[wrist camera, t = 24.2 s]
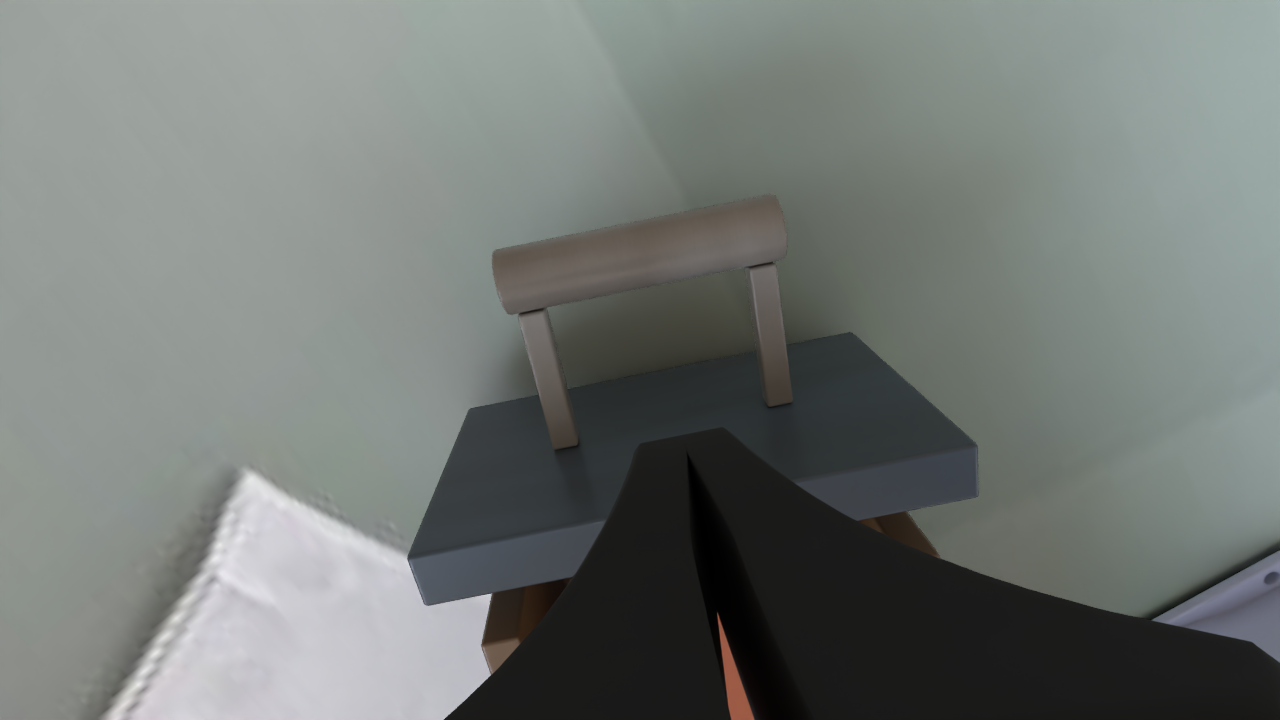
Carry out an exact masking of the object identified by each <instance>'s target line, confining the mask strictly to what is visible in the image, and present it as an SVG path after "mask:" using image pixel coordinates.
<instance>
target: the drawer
mask: <svg viewBox="0 0 1280 720" xmlns="http://www.w3.org/2000/svg"><path fill="white" fill-rule="evenodd" d="M786 253H787V231H786V224H785V219H784V215H783V211H782V208H781V205H780V203H779V201H778V199H777V197H776V196H775V195H774V194H768V195H763V196H758V197H753V198H748V199H743V200H738V201H733V202H728V203H723V204H718V205H713V206H709V207H704V208H699V209H694V210H689V211H684V212H679V213H674V214H669V215H664V216H659V217H654V218H650V219H645V220H640V221H635V222H630V223H625V224H620V225H615V226H610V227H605V228H600V229H595V230H591V231H586V232H581V233H576V234H571V235H566V236H561V237H556V238H551V239H546V240H541V241H536V242H532V243H527V244H522V245H517V246H512V247H507V248H502V249H497V250H495V251H494V252H493V255H492V268H493V275H494V280H495V285H496V289H497V292H498V296H499V299H500V302H501V304H502V306H503V308H504V310H505V311H506V313H507V314H510V315H513V314H518V313H520V314H519V317H518V319H519V323H520V327H521V331H522V334H523V338H524V342H525V346H526V349H527V353H528V357H529V361H530V364H531V368H532V372H533V376H534V379H535V383H536V387H537V390H538V394H539V395H535V396H530V397H525V398H520V399H515V400H510V401H505V402H500V403H495V404H490V405H485V406H480V407H475V408H471V409H469V410H468V413H467V415H466V418H465V420H464V422H463V425H462V427H461V430H460V432H459V434H458V437H457V439H456V442H455V444H454V446H453V449H452V451H451V454H450V456H449V458H448V461H447V463H446V465H445V468H444V470H443V473H442V475H441V477H440V480H439V482H438V485H437V487H436V489H435V492H434V494H433V497H432V499H431V501H430V504H429V506H428V509H427V511H426V513H425V516H424V518H423V521H422V523H421V525H420V528H419V530H418V532H417V535H416V537H415V540H414V542H413V544H412V547H411V549H410V552H409V554H408V558H407V559H408V562H409V565H410V568H411V570H412V573H413V575H414V578H415V581H416V583H417V586H418V589H419V591H420V594H421V597H422V599H423V602H424V604H425V605H427V606H429V605H434V604H440V603H445V602H450V601H455V600H460V599H465V598H470V597H475V596H480V595H485V594H490V593H492V597H491V601H490V606H489V611H488V616H487V620H486V625H485V630H484V634H483V639H482V644H481V647H482V650H483V653H484V656H485V658H486V661H487V664H488V667H489V670H490V673H491V675H492V674H493V673H494V672H495V671H496V670H497V669H498V668H499V667H500V666H501V665H502V663H503V662H504V661H505V660H506V659H507V658H508V657H509V656H510V655H511V653H512V652H513V651H514V650H515V649H516V648H517V647H518V646H519V645H520V643H521V642H522V641H523V640H524V639H525V638H526V637H527V636H528V635H529V633H530V632H531V631H532V630H533V629H534V628H535V627H536V626H537V625H538V623H539V622H540V621H541V620H542V619H543V617H544V616H545V615H546V614H547V612H548V611H549V610H550V608H551V607H552V606H553V604H554V603H555V602H556V600H557V599H558V597H559V596H560V595H561V593H562V592H563V591H564V589H565V588H566V586H567V585H568V583H569V582H570V581H571V579H572V578H573V576H574V575H575V573H576V572H577V570H578V568H579V567H580V565H581V564H582V562H583V560H584V559H585V557H586V555H587V554H588V552H589V550H590V548H591V547H592V545H593V543H594V542H595V540H596V538H597V536H598V535H599V533H600V531H601V529H602V528H603V526H604V524H605V522H606V520H607V518H608V516H609V514H610V512H611V510H612V507H613V505H614V503H615V501H616V499H617V497H618V495H619V493H620V490H621V488H622V486H623V483H624V481H625V478H626V476H627V473H628V470H629V468H630V465H631V461H632V458H633V454H634V451H635V450H636V448H637V447H638V446H639V444H640V443H644V442H649V441H654V440H659V439H664V438H669V437H674V436H679V435H684V434H689V433H694V432H699V431H704V430H709V429H714V428H719V427H724V428H725V429H726V430H728V431H729V432H731V433H732V434H733V435H734V436H735V437H737V438H738V439H739V440H740V441H741V442H742V443H744V444H745V445H746V446H747V447H748V448H749V449H751V450H752V451H753V452H754V453H756V454H757V455H758V456H759V457H761V458H762V459H763V460H764V461H766V462H767V463H768V464H769V465H771V466H772V467H773V468H775V469H776V470H777V471H779V472H780V473H781V474H783V475H784V476H786V477H787V478H789V479H790V480H791V481H793V482H794V483H796V484H797V485H798V486H800V487H801V488H803V489H804V490H806V491H807V492H809V493H810V494H812V495H813V496H815V497H816V498H818V499H820V500H821V501H823V502H825V503H826V504H828V505H830V506H831V507H833V508H835V509H836V510H838V511H840V512H841V513H843V514H845V515H847V516H849V517H850V518H852V519H854V520H856V521H858V522H860V523H862V524H864V525H866V526H868V527H870V528H872V529H874V530H876V531H878V532H880V533H883V534H885V535H887V536H889V537H891V538H893V539H895V540H897V541H899V542H901V543H904V544H906V545H908V546H910V547H913V548H915V549H918V550H920V551H922V552H925V553H927V554H930V555H932V556H935V557H937V558H940V555H939V553H938V552H937V551H936V549H935V548H934V547H933V545H932V544H931V543H930V542H929V540H928V539H927V538H926V536H925V535H924V534H923V532H922V531H921V530H920V528H919V527H918V526H917V524H916V523H915V522H914V521H913V519H912V518H911V517H910V515H909V514H908V513H907V511H910V510H915V509H920V508H925V507H930V506H935V505H940V504H945V503H950V502H955V501H961V500H966V499H971V498H975V497H977V496H978V494H979V491H978V446H977V444H976V443H975V442H974V441H973V440H972V439H971V438H970V437H969V436H967V435H966V434H965V433H964V432H963V431H962V430H961V429H960V428H959V427H957V426H956V425H955V424H954V423H953V422H952V421H951V420H950V419H948V418H947V417H946V416H945V415H944V414H943V413H942V412H941V411H939V410H938V409H937V408H936V407H935V406H934V405H933V404H932V403H931V402H929V401H928V400H927V399H926V398H925V397H924V396H923V395H922V394H920V393H919V392H918V391H917V390H916V389H915V388H914V387H913V386H911V385H910V384H909V383H908V382H907V381H906V380H905V379H904V378H903V377H901V376H900V375H899V374H898V373H897V372H896V371H895V370H894V369H892V368H891V367H890V366H889V365H888V364H887V363H886V362H885V361H883V360H882V359H881V358H880V357H879V356H878V355H877V354H876V353H875V352H873V351H872V350H871V349H870V348H869V347H868V346H867V345H866V344H864V343H863V342H862V341H861V340H860V339H859V338H858V337H857V336H855V335H854V334H853V333H851V332H849V333H844V334H839V335H834V336H829V337H824V338H819V339H814V340H809V341H804V342H799V343H794V344H789V345H786V340H785V332H784V323H783V315H782V307H781V299H780V291H779V283H778V275H777V266H776V265H775V263H773V262H775V261H780V260H783V259H784V258H785V257H786ZM740 268H745V275H746V282H747V289H748V296H749V303H750V311H751V318H752V325H753V332H754V339H755V346H756V351H754V352H749V353H744V354H739V355H734V356H729V357H724V358H719V359H714V360H709V361H704V362H700V363H695V364H690V365H685V366H680V367H675V368H670V369H665V370H660V371H655V372H650V373H645V374H640V375H635V376H630V377H625V378H620V379H615V380H610V381H605V382H600V383H595V384H590V385H585V386H580V387H575V388H570V389H568V388H567V384H566V380H565V376H564V372H563V368H562V364H561V360H560V356H559V352H558V348H557V344H556V340H555V336H554V332H553V328H552V324H551V320H550V316H549V312H548V308H547V307H552V306H557V305H562V304H567V303H572V302H577V301H582V300H587V299H592V298H597V297H602V296H607V295H611V294H616V293H621V292H626V291H631V290H636V289H641V288H646V287H651V286H656V285H661V284H666V283H671V282H676V281H681V280H686V279H691V278H696V277H700V276H705V275H710V274H715V273H720V272H725V271H730V270H735V269H740Z"/></svg>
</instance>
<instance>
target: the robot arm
mask: <svg viewBox="0 0 1280 720" xmlns="http://www.w3.org/2000/svg"><path fill="white" fill-rule="evenodd" d="M717 613H718V616H719V619H720V622H721V625H722V628H723V631H724V633H725V636H726V639H727V642H728V645H729V648H730V651H731V654H732V657H733V659H734V662H735V665H736V668H737V671H738V674H739V677H740V680H741V682H742V685H743V688H744V691H745V694H746V697H747V700H748V703H749V705H750V708H751V711H752V714H753V717H754V720H1280V550H1279V551H1277V552H1275V553H1274V554H1272V555H1270V556H1268V557H1266V558H1264V559H1263V560H1261V561H1259V562H1257V563H1255V564H1253V565H1252V566H1250V567H1248V568H1246V569H1244V570H1242V571H1241V572H1239V573H1237V574H1235V575H1233V576H1231V577H1230V578H1228V579H1226V580H1224V581H1222V582H1220V583H1219V584H1217V585H1215V586H1213V587H1211V588H1209V589H1208V590H1206V591H1204V592H1202V593H1200V594H1198V595H1197V596H1195V597H1193V598H1191V599H1189V600H1187V601H1186V602H1184V603H1182V604H1180V605H1178V606H1176V607H1175V608H1173V609H1171V610H1169V611H1167V612H1165V613H1164V614H1162V615H1160V616H1158V617H1156V618H1154V619H1153V620H1147V619H1143V618H1138V617H1133V616H1128V615H1124V614H1119V613H1114V612H1110V611H1106V610H1102V609H1098V608H1094V607H1091V606H1087V605H1083V604H1080V603H1076V602H1073V601H1069V600H1065V599H1062V598H1058V597H1055V596H1051V595H1048V594H1044V593H1040V592H1037V591H1033V590H1030V589H1026V588H1023V587H1020V586H1017V585H1014V584H1011V583H1008V582H1004V581H1001V580H998V579H995V578H992V577H989V576H986V575H983V574H980V573H978V572H975V571H972V570H970V569H967V568H964V567H962V566H959V565H956V564H953V563H951V562H948V561H945V560H943V559H940V558H937V557H935V556H932V555H930V554H927V553H925V552H922V551H920V550H918V549H915V548H913V547H910V546H908V545H906V544H904V543H901V542H899V541H897V540H895V539H893V538H891V537H889V536H887V535H885V534H883V533H880V532H878V531H876V530H874V529H872V528H870V527H868V526H866V525H864V524H862V523H860V522H858V521H856V520H854V519H852V518H850V517H849V516H847V515H845V514H843V513H841V512H840V511H838V510H836V509H835V508H833V507H831V506H830V505H828V504H826V503H825V502H823V501H821V500H820V499H818V498H816V497H815V496H813V495H812V494H810V493H809V492H807V491H806V490H804V489H803V488H801V487H800V486H798V485H797V484H796V483H794V482H793V481H791V480H790V479H789V478H787V477H786V476H784V475H783V474H781V473H780V472H779V471H777V470H776V469H775V468H773V467H772V466H771V465H769V464H768V463H767V462H766V461H764V460H763V459H762V458H761V457H759V456H758V455H757V454H756V453H754V452H753V451H752V450H751V449H749V448H748V447H747V446H746V445H745V444H744V443H742V442H741V441H740V440H739V439H738V438H737V437H735V436H734V435H733V434H732V433H731V432H729V431H728V430H726V429H725V428H724V427H719V428H714V429H709V430H704V431H699V432H694V433H689V434H684V435H679V436H674V437H669V438H664V439H659V440H654V441H649V442H644V443H640V444H639V446H638V447H637V448H636V450H635V451H634V454H633V458H632V461H631V465H630V468H629V470H628V473H627V476H626V478H625V481H624V483H623V486H622V488H621V490H620V493H619V495H618V497H617V499H616V501H615V503H614V505H613V507H612V510H611V512H610V514H609V516H608V518H607V520H606V522H605V524H604V526H603V528H602V529H601V531H600V533H599V535H598V536H597V538H596V540H595V542H594V543H593V545H592V547H591V548H590V550H589V552H588V554H587V555H586V557H585V559H584V560H583V562H582V564H581V565H580V567H579V568H578V570H577V572H576V573H575V575H574V576H573V578H572V579H571V581H570V582H569V583H568V585H567V586H566V588H565V589H564V591H563V592H562V593H561V595H560V596H559V597H558V599H557V600H556V602H555V603H554V604H553V606H552V607H551V608H550V610H549V611H548V612H547V614H546V615H545V616H544V617H543V619H542V620H541V621H540V622H539V623H538V625H537V626H536V627H535V628H534V629H533V630H532V631H531V632H530V633H529V635H528V636H527V637H526V638H525V639H524V640H523V641H522V642H521V643H520V645H519V646H518V647H517V648H516V649H515V650H514V651H513V652H512V653H511V655H510V656H509V657H508V658H507V659H506V660H505V661H504V662H503V663H502V665H501V666H500V667H499V668H498V669H497V670H496V671H495V672H494V673H493V674H492V675H491V676H490V677H489V678H488V679H487V680H486V681H485V682H484V683H483V684H482V685H481V686H480V687H479V688H477V689H476V690H475V691H474V692H473V693H472V694H471V695H470V696H469V697H468V698H467V699H466V700H465V701H464V702H463V703H462V704H461V705H460V706H458V707H457V708H456V709H455V710H454V711H453V712H452V713H451V714H450V715H448V716H447V717H446V718H445V719H444V720H731V716H730V711H729V706H728V698H727V690H726V681H725V673H724V665H723V656H722V648H721V640H720V632H719V624H718V616H717Z"/></svg>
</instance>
